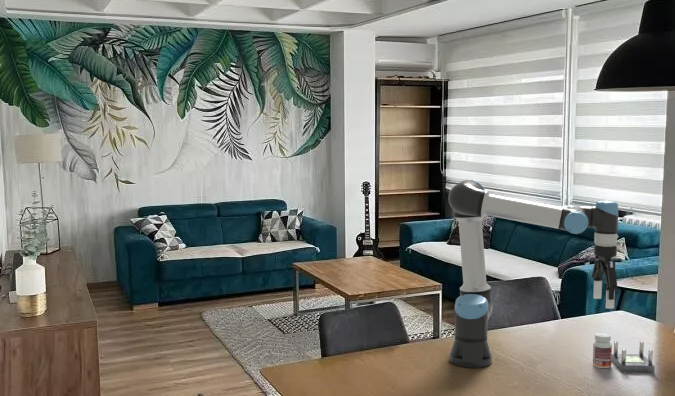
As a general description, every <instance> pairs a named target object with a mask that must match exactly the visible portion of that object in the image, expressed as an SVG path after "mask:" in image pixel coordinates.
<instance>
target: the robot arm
mask: <svg viewBox="0 0 675 396" xmlns="http://www.w3.org/2000/svg"><path fill="white" fill-rule="evenodd" d="M448 204H449V207H450V208H451V209H452V211H453V218H454V219H455V220H456V221H457V222H458V230H459V245H460V246H459V247H460V256H461V257H460V258H461V270H462V271H461V272H462V285H461V286H460V287H459V296H458V297H457V298H456V299H455V302H454V303H455V304H454V339H453V340H454V341H453V343H452V346H451V349H450V351H449V362H450V363H452V364H453V365H455V366H458V367H463V368H470V369H473V368H474V369H477V368H478V369H479V368H485V367H488V366H490V365H492V363H493V356H492V353H491V350H490V346H489V342H488V323H489V319H490V317H491V316H492V315H493V312H494V309H495V303H494V299H493V296H492V286H491V285H489V284H488V283H487V275H486V274H487V273H486V272H487V271H486V260H485V259H486V258H485V247H484V236H483V235H484V233H483V220H484V218H485V217H486V216H489V217H493V218H499V219H505V220H509V221H516V222H520V223H524V224H525V223H527V224H531V225H537V226H541V227H547V228H554V229H556V230H557V229H558V230H562V231H566V232H569V233H570V234H574V235H579V234H582V233H583V232H584V231H585V230H586V229H587V228H594V235H593V236H594V237H593V239H594V240H593V243H594V244H595V245H594V247H593V254H594V256H595V258H594V264H593V268H592V274H591V277H592V278H593V279H592V280H593V294H592V295H593V299H594V300H595V299H596V300H601V299H602V293H603V290H602V289H603V275H604V279H605V285H606V287H605V291H606V292H605V309H609V310H610V309H611V310H612V309H615V297H616V295H615V292H616V291H618V282H617V281H618V279H617V273H616V261H612V258H613V257H614V258H615V257H617V255H618V254H617V253H618V246H617V244H618V238H619V237H620V236H619V235H618V229H619V228H618V227H619V204H618V203H617V202H616V201H613V200H598V201H596V202H595V205H594V206H588V205H587V206H586V205H585V206H583V205H562V206H555V205H551V204H545V203H540V202H534V201H529V200H522V199H516V198H513V197H506V196H502V195H496V194H490V193H489V191H488V190H485V188H484V186H483V185H482V184H481V183H480V182H478V181H476V180H473V179H472V180H471V179H466V180H461V181H460V182H458V183H457V184H455V185H454V186H453V187H451V189H450V191H449V193H448Z"/></svg>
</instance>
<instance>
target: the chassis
mask: <svg viewBox="0 0 675 396" xmlns="http://www.w3.org/2000/svg"><path fill="white" fill-rule="evenodd" d="M644 347H645V343H644V341H640V342H639V351H638V354H637V353H634V354H633V353H632V354H631V353H627V349H624V348H622V349H621V353H619V341H616V340H615V341H613V353H612V358H611V363H613V364H614V365H615V367H616V368H617V369H618V370H619V371H620V372H621V373H636V374H637V373H643V374H648V373H649V374H654V373H655V367H656V366H655V365H654V364H653V357H654V356H653V354H654V350H653V349H648V353H647V354H648V357H646V356H645V355H644V352H645V351H644V349H645V348H644Z"/></svg>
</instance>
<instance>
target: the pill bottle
mask: <svg viewBox="0 0 675 396" xmlns="http://www.w3.org/2000/svg"><path fill="white" fill-rule="evenodd" d="M594 340H595V341H593V347H592V365H593V366H594V367H596V368H599V369H610V368H611V367H612V361H611V358H612V354H613V344H612V342H611V334H609V333H604V332H597V333H595V334H594Z"/></svg>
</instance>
